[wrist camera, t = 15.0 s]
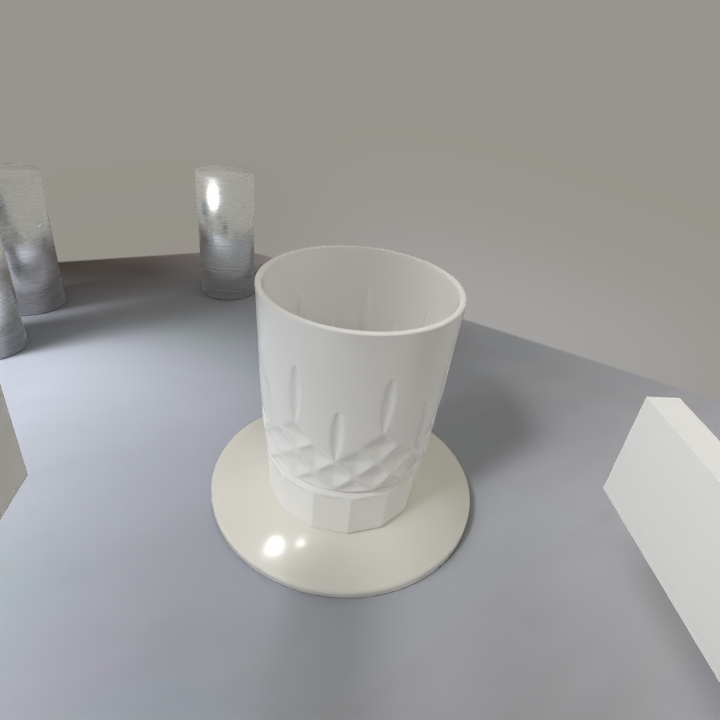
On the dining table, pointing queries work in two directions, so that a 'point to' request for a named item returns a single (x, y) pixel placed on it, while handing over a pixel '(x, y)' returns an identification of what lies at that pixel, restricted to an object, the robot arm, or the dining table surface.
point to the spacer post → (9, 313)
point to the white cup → (351, 377)
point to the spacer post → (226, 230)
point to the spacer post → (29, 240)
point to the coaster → (329, 548)
